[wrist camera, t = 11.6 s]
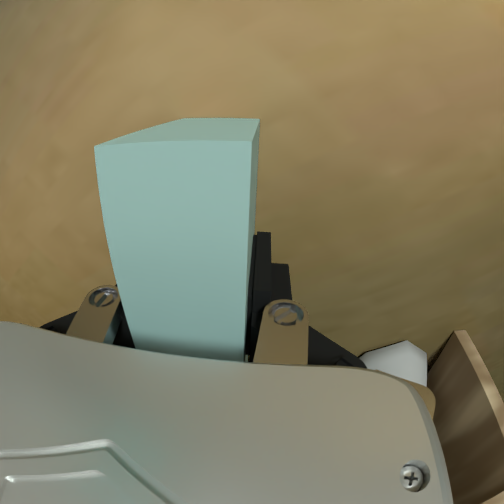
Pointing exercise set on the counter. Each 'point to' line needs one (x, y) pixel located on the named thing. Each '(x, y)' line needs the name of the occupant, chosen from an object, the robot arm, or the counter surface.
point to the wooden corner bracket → (468, 422)
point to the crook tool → (183, 232)
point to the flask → (399, 361)
